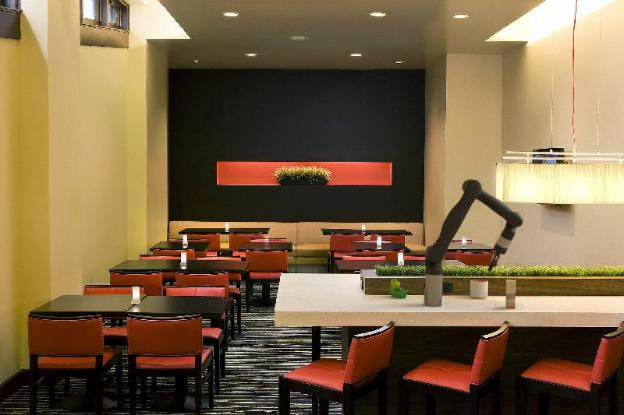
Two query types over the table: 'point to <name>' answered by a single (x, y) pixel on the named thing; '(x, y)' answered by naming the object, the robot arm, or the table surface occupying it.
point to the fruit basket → (397, 290)
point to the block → (510, 293)
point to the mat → (503, 306)
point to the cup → (479, 289)
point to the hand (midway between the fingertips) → (489, 268)
